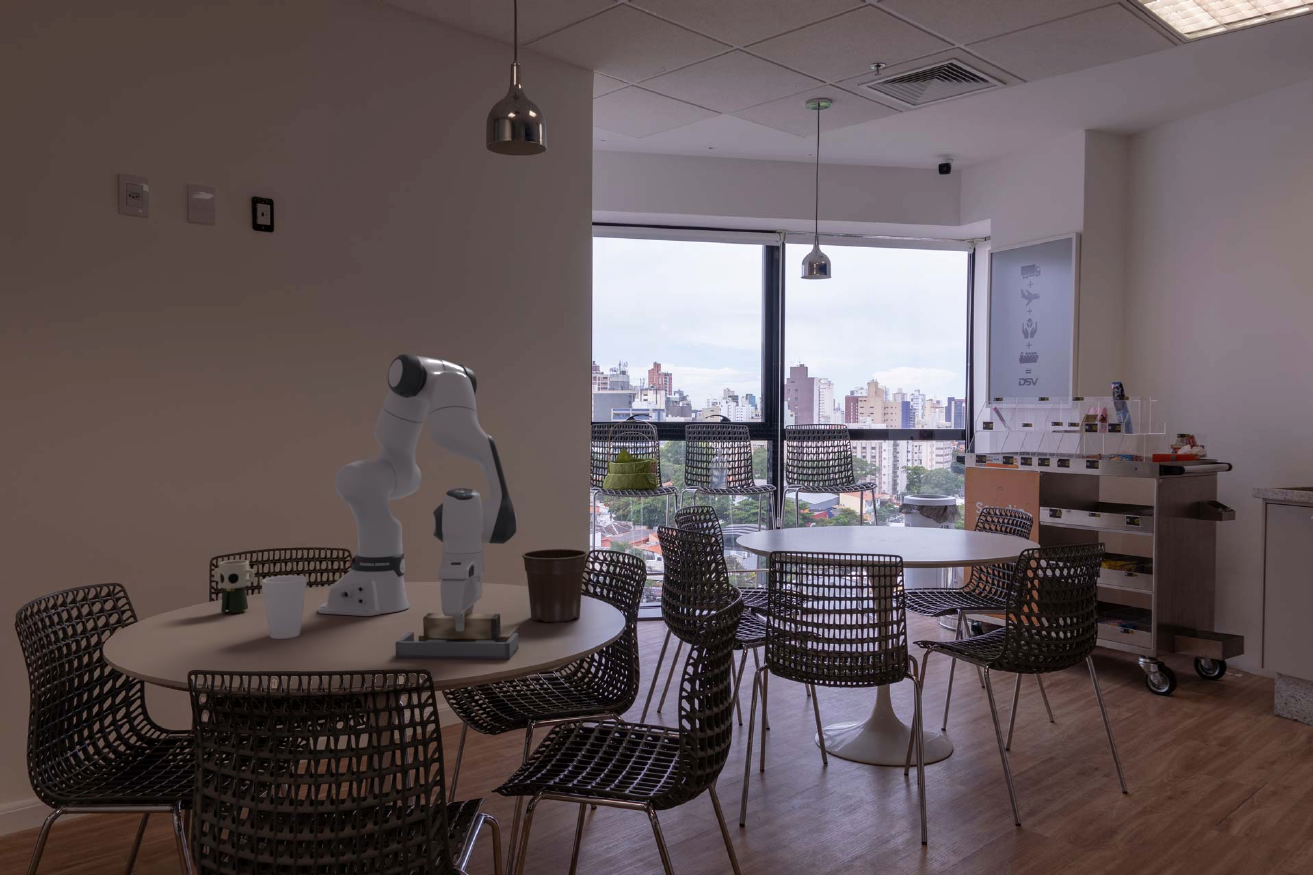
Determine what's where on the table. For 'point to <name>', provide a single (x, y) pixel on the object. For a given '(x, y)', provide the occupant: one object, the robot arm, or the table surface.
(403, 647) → the tray
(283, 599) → the foam cup
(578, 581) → the plant pot
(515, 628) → the board
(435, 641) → the tile
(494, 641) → the tile
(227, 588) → the character mug
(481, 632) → the brown wooden block
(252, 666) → the table surface
